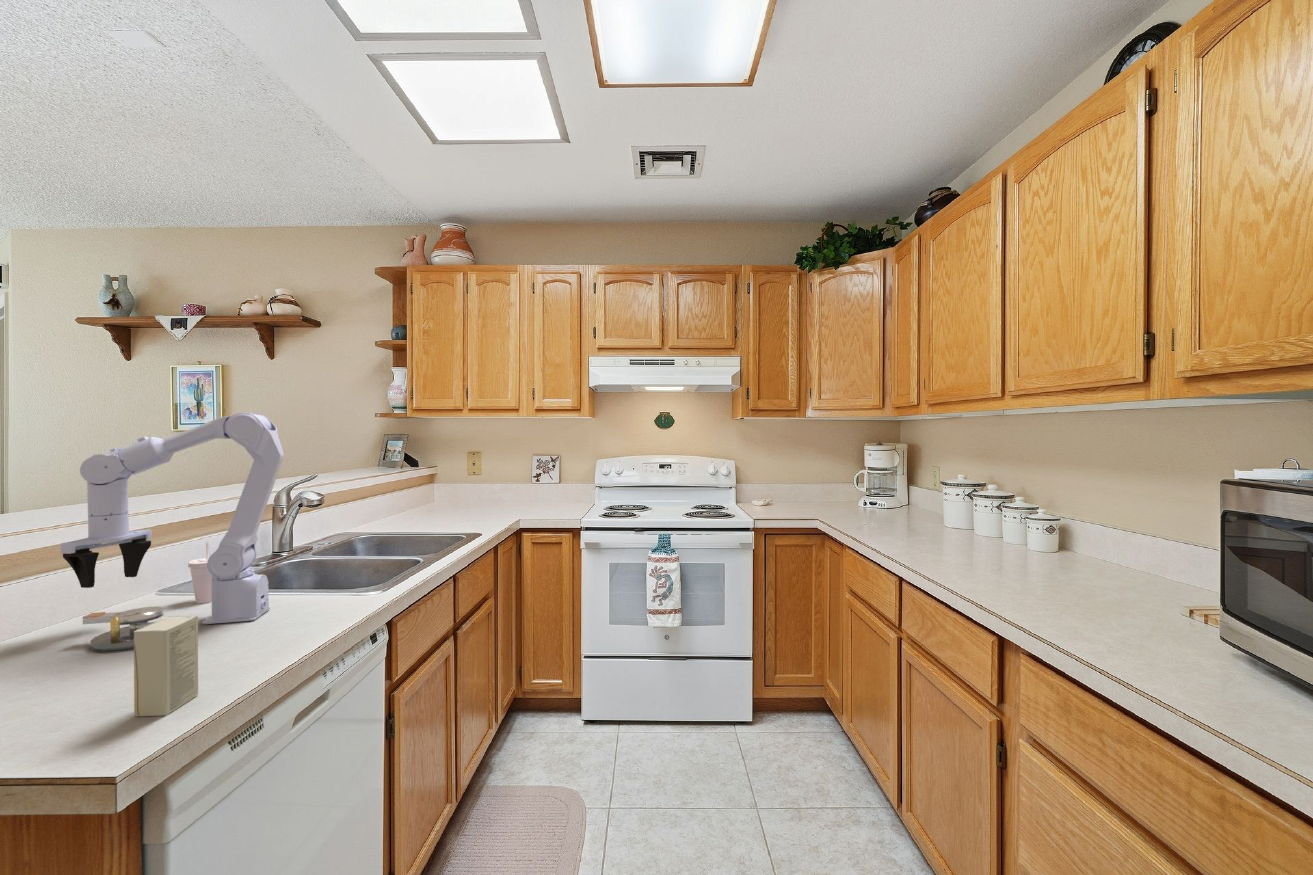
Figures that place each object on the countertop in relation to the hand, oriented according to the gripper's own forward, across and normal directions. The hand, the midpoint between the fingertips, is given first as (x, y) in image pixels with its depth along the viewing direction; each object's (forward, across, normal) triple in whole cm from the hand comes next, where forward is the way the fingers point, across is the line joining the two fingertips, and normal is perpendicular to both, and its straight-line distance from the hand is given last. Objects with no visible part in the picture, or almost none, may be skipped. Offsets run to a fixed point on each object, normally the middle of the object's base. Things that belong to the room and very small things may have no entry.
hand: (109, 581), depth 109 cm
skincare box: (+10, +24, +43) cm, 51 cm away
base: (+10, +3, +10) cm, 15 cm away
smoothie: (+10, -19, 0) cm, 22 cm away
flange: (+6, +4, +8) cm, 11 cm away
